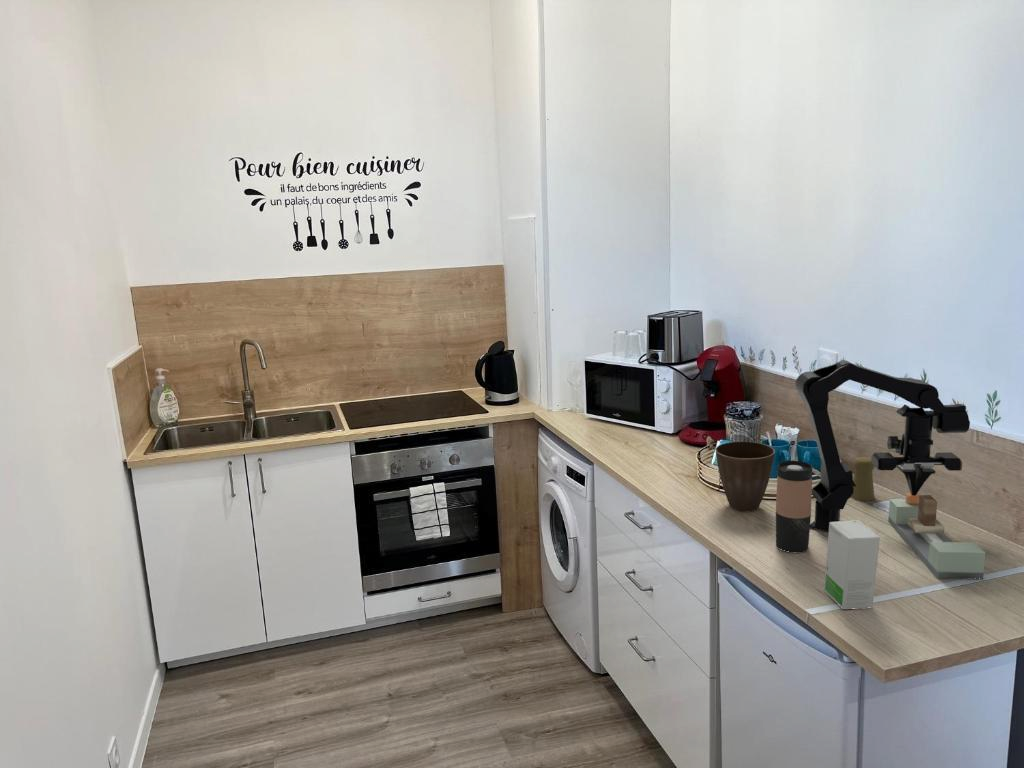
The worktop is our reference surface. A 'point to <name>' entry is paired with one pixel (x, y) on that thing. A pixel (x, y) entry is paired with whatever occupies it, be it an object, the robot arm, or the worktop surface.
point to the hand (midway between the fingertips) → (913, 494)
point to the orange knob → (912, 499)
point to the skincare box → (851, 564)
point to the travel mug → (793, 505)
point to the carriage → (926, 516)
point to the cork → (863, 479)
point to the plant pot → (744, 473)
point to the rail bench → (937, 546)
